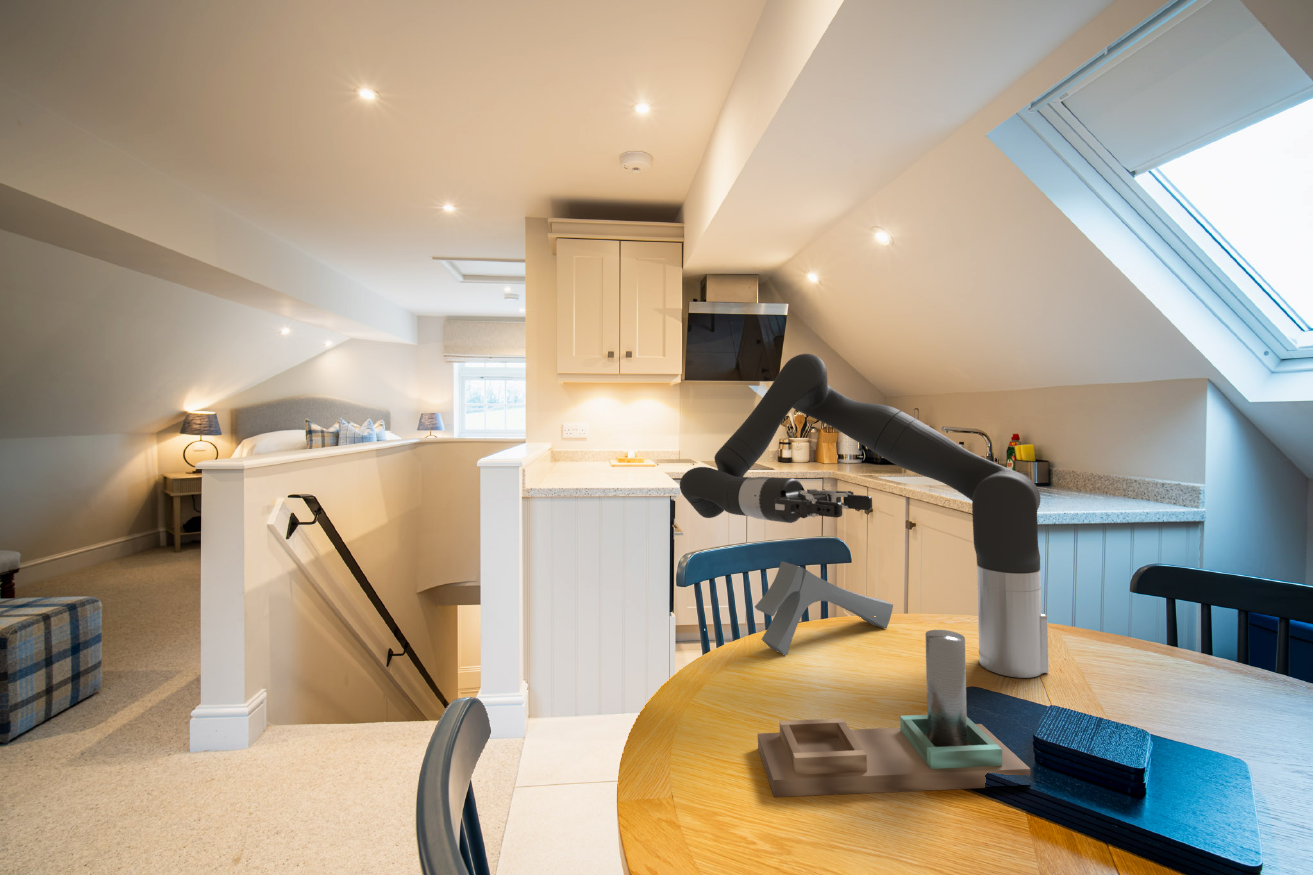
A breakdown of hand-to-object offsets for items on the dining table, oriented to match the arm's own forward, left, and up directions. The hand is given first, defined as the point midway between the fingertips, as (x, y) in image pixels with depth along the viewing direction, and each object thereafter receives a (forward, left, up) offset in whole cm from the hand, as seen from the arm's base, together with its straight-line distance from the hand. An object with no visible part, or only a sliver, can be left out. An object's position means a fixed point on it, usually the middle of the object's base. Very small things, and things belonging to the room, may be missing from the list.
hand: (856, 506), depth 88 cm
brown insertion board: (+3, +17, -30) cm, 34 cm away
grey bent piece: (-2, -26, -30) cm, 40 cm away
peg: (-5, +16, -28) cm, 33 cm away
